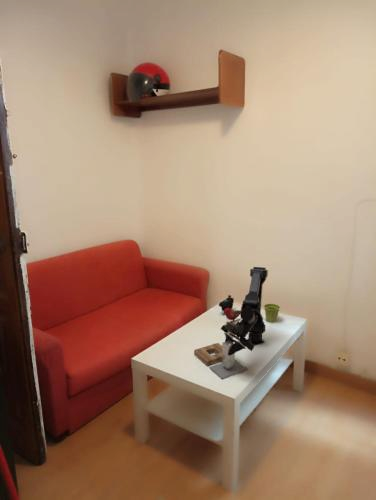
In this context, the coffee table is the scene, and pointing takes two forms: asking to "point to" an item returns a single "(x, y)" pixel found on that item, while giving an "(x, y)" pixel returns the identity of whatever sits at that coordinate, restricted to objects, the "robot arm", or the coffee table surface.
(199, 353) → the brown wooden frame
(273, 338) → the coffee table surface
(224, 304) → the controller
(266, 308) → the plant pot
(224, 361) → the steel key bar
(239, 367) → the grey mat
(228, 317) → the decorative bird figurine
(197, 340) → the coffee table surface
